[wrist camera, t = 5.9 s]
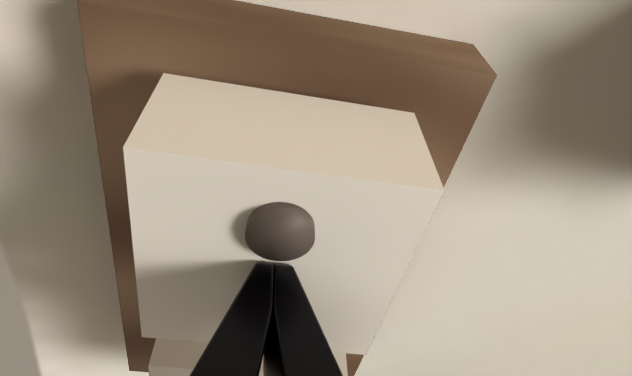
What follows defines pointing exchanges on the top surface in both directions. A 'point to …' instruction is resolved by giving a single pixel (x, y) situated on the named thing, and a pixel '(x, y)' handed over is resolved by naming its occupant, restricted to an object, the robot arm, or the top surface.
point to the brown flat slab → (266, 73)
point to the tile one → (194, 358)
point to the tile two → (272, 204)
